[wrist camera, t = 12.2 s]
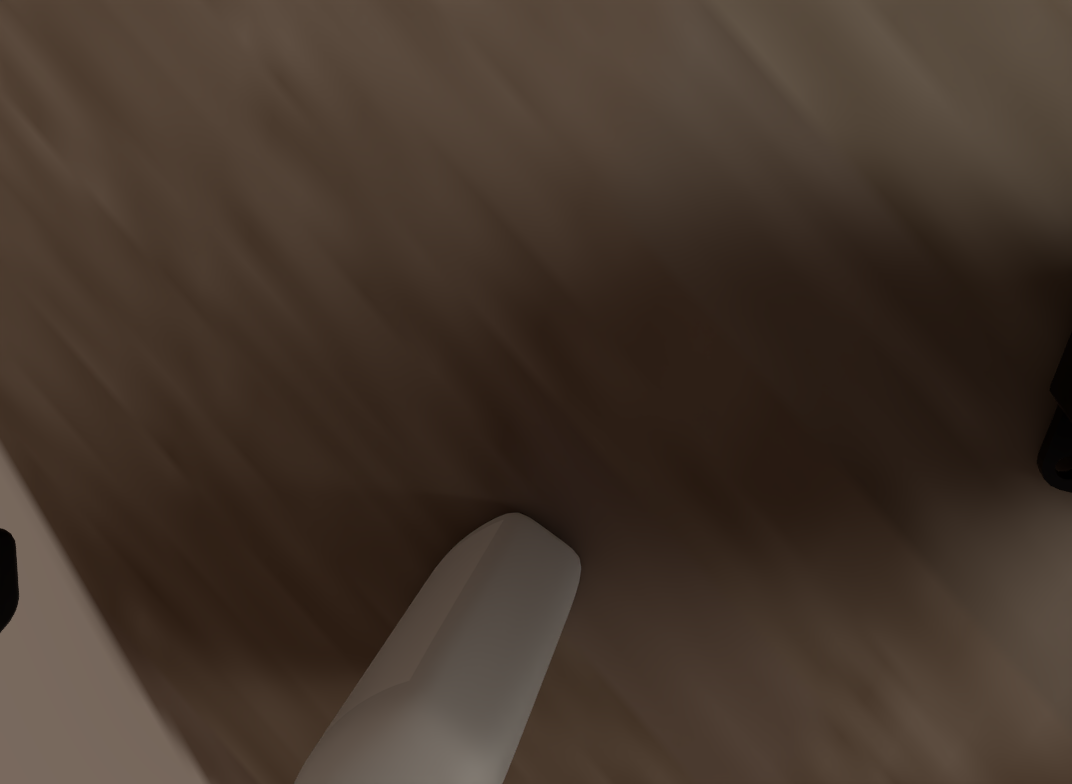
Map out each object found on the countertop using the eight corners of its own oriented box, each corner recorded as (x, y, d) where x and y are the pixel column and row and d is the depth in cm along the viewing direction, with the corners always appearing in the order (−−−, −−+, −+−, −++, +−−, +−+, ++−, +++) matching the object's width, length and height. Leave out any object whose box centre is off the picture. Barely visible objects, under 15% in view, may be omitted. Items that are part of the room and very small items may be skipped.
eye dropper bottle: (367, 558, 25) (35, 966, 14) (553, 490, 23) (334, 907, 12) (444, 692, 26) (189, 1175, 15) (630, 639, 24) (493, 1153, 13)
